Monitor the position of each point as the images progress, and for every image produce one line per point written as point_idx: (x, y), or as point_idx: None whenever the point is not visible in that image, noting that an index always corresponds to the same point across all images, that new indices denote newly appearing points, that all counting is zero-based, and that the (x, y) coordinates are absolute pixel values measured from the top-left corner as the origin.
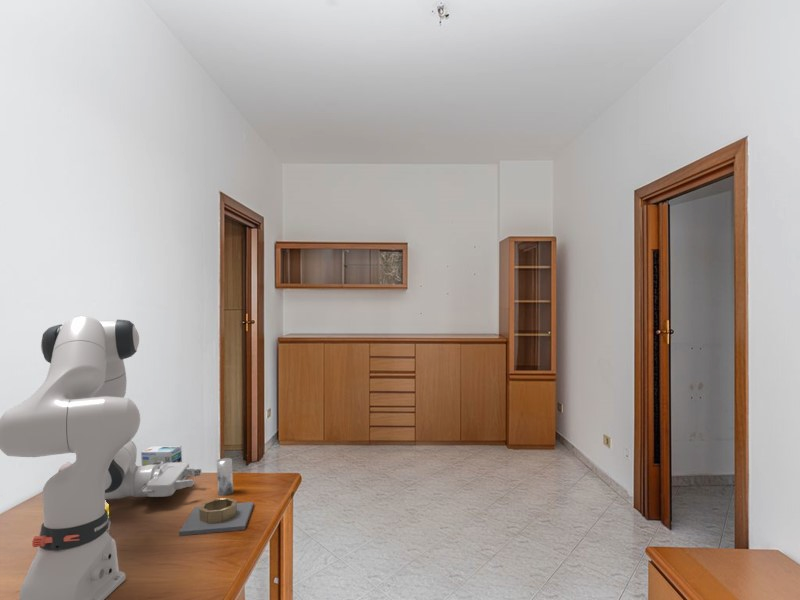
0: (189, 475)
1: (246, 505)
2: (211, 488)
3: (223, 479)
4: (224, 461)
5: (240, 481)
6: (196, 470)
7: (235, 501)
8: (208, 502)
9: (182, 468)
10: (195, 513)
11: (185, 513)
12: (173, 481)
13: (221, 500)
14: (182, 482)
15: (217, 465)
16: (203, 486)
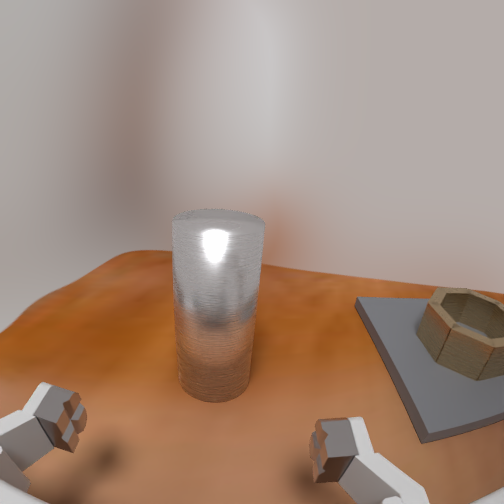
0: (29, 482)
1: (385, 305)
2: (113, 427)
3: (255, 316)
4: (245, 220)
5: (94, 332)
6: (64, 412)
7: (443, 288)
8: (481, 335)
9: (5, 498)
10: (480, 403)
11: (455, 465)
12: (475, 502)
13: (446, 315)
14: (398, 476)
15: (241, 257)
16: (56, 456)
